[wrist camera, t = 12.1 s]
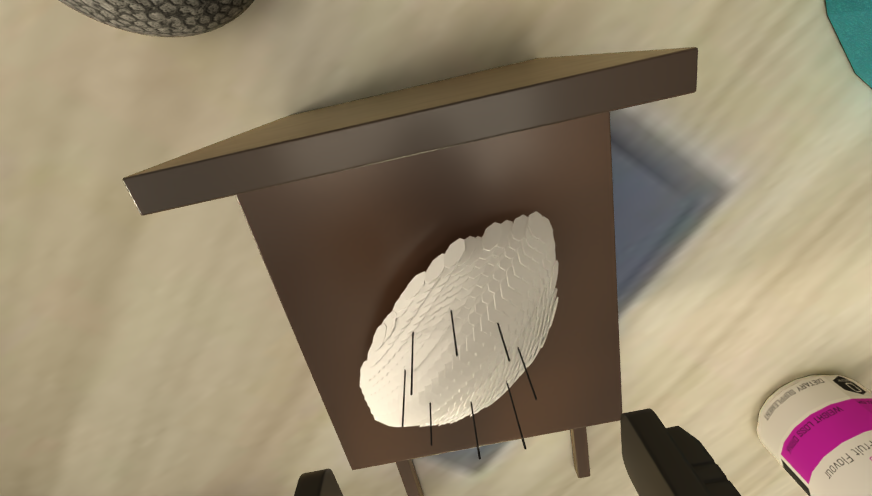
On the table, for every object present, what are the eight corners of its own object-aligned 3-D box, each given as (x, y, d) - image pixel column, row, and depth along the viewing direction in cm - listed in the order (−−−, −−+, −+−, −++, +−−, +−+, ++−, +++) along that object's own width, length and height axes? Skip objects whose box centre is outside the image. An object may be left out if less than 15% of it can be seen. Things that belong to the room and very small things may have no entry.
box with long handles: (412, 497, 36) (408, 738, 23) (278, 118, 23) (101, 183, 10) (586, 465, 35) (682, 696, 22) (547, 55, 22) (721, 41, 9)
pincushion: (434, 436, 21) (440, 560, 16) (324, 385, 19) (289, 503, 14) (597, 251, 17) (676, 332, 12) (477, 170, 15) (506, 222, 10)
